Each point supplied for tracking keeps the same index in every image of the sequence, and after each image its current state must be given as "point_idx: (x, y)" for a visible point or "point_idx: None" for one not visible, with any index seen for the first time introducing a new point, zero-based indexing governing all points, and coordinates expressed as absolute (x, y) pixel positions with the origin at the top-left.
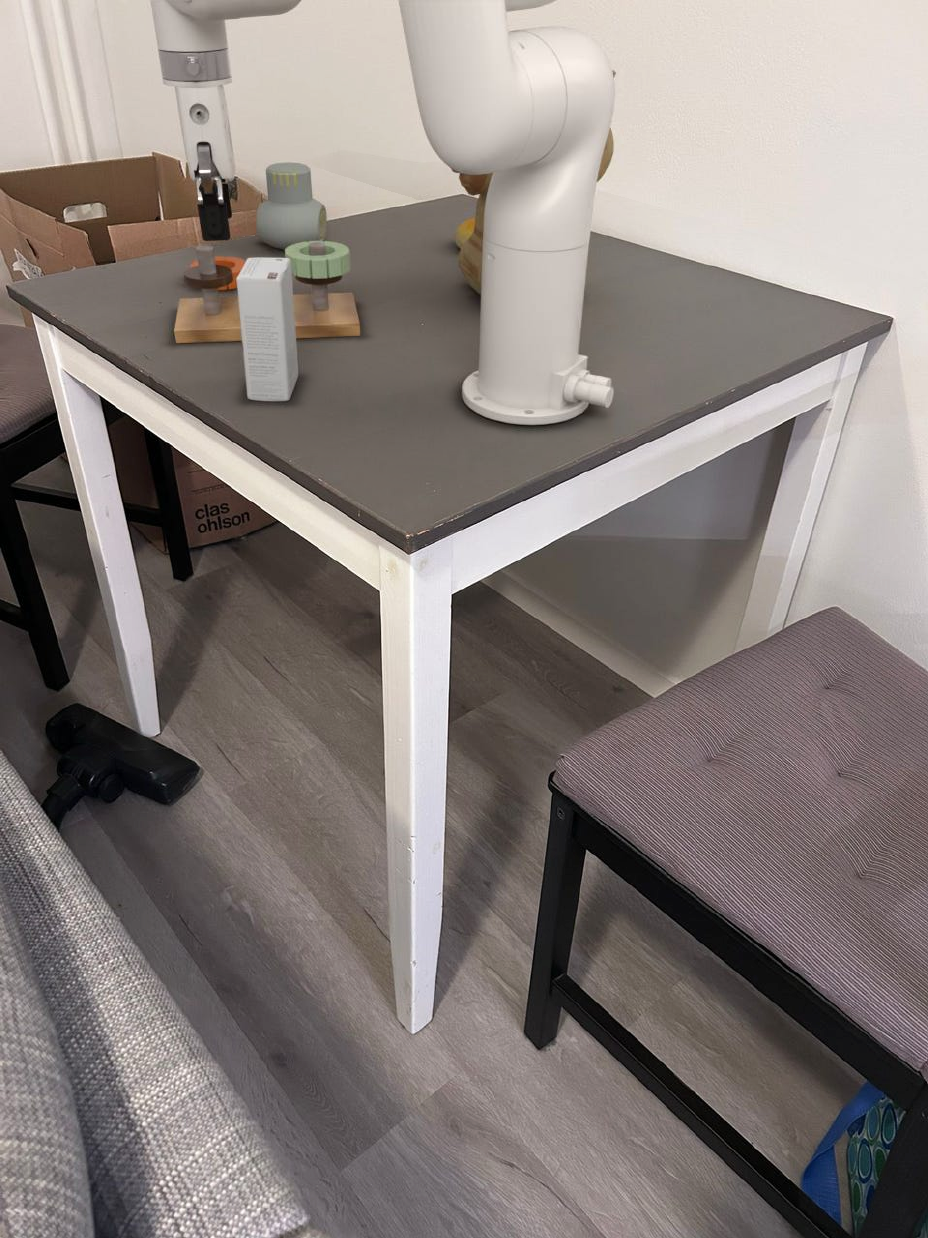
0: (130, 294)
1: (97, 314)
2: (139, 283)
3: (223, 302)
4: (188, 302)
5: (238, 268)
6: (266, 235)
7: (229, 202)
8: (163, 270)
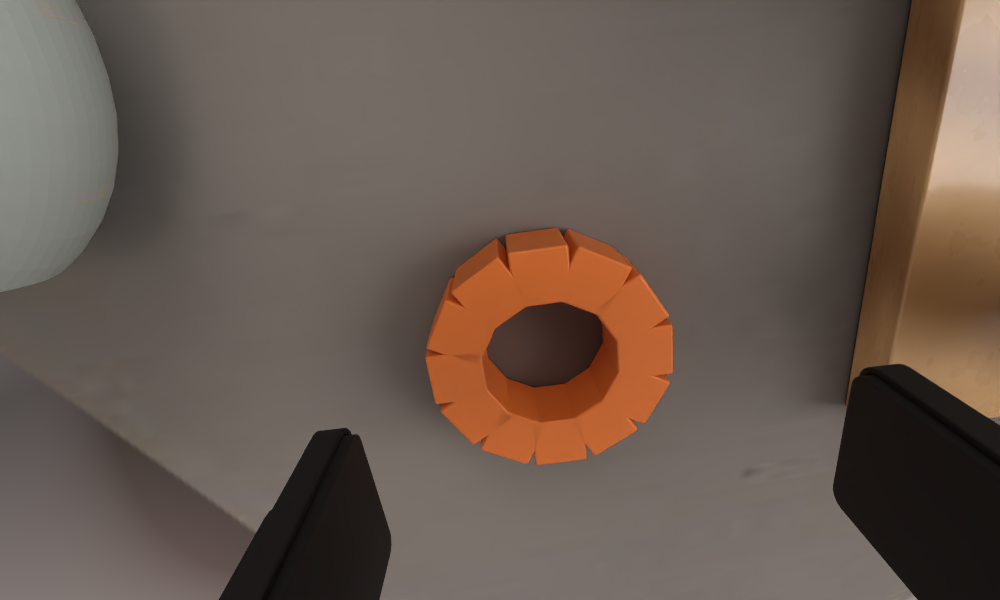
0: (660, 555)
1: (813, 588)
2: (562, 553)
3: (976, 278)
4: None
5: (601, 281)
6: (101, 214)
7: (315, 501)
8: (434, 520)
